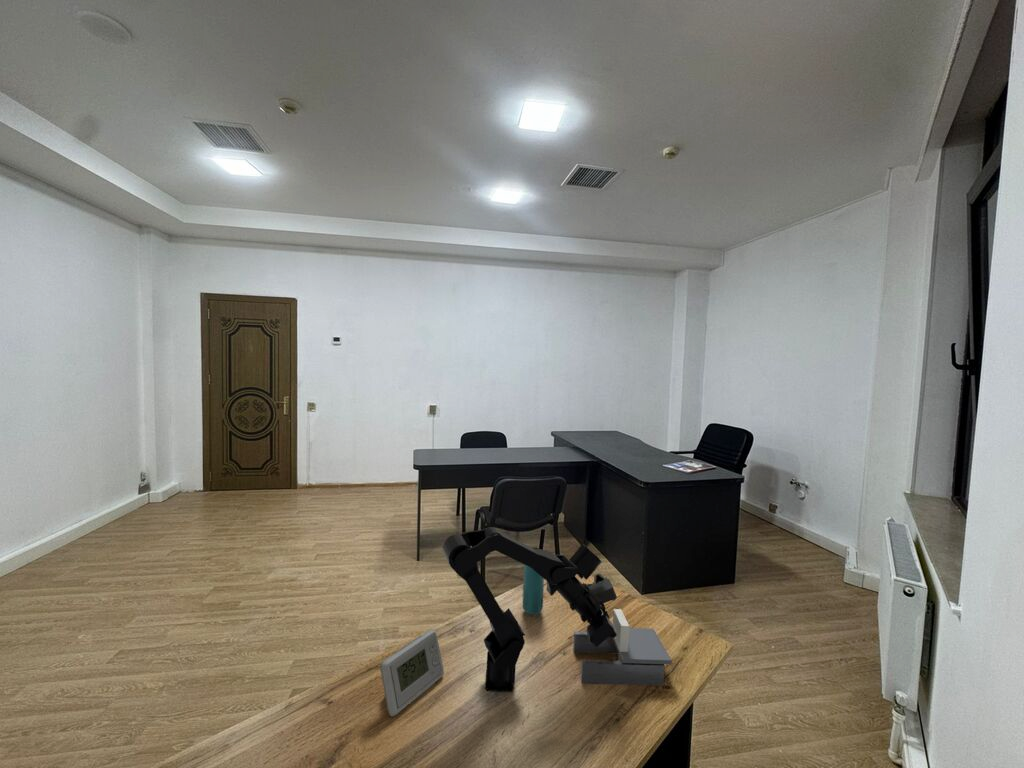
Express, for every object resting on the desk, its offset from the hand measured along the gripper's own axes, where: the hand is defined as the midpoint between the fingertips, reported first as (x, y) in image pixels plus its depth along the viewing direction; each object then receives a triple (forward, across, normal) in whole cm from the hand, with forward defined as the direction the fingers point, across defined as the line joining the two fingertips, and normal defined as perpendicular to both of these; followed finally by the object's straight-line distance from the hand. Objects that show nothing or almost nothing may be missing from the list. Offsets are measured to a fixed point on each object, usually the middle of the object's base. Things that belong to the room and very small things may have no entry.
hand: (615, 635), depth 105 cm
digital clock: (-29, -10, +41) cm, 51 cm away
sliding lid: (+6, 0, -3) cm, 7 cm away
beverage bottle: (-8, +22, +20) cm, 30 cm away
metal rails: (+6, 0, +5) cm, 8 cm away
